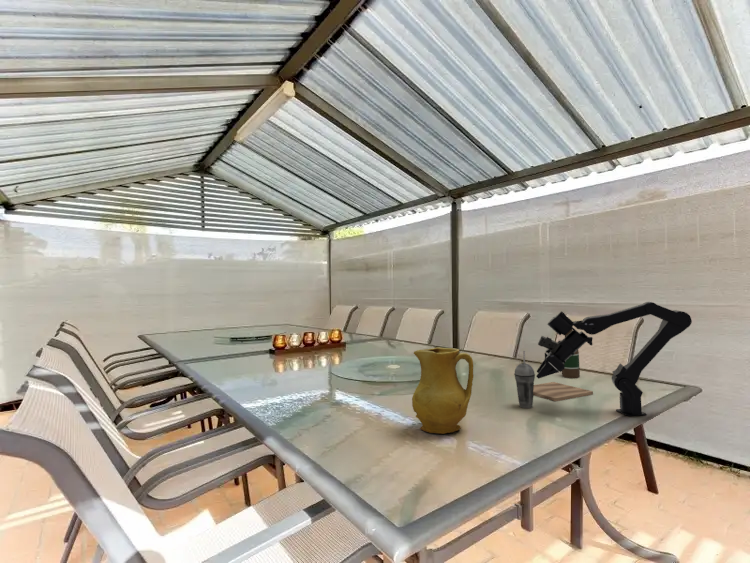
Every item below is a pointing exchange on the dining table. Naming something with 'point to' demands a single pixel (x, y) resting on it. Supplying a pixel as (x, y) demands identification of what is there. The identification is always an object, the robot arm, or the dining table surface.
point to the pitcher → (441, 390)
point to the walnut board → (559, 391)
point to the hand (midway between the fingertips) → (537, 374)
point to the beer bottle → (572, 365)
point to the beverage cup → (525, 384)
